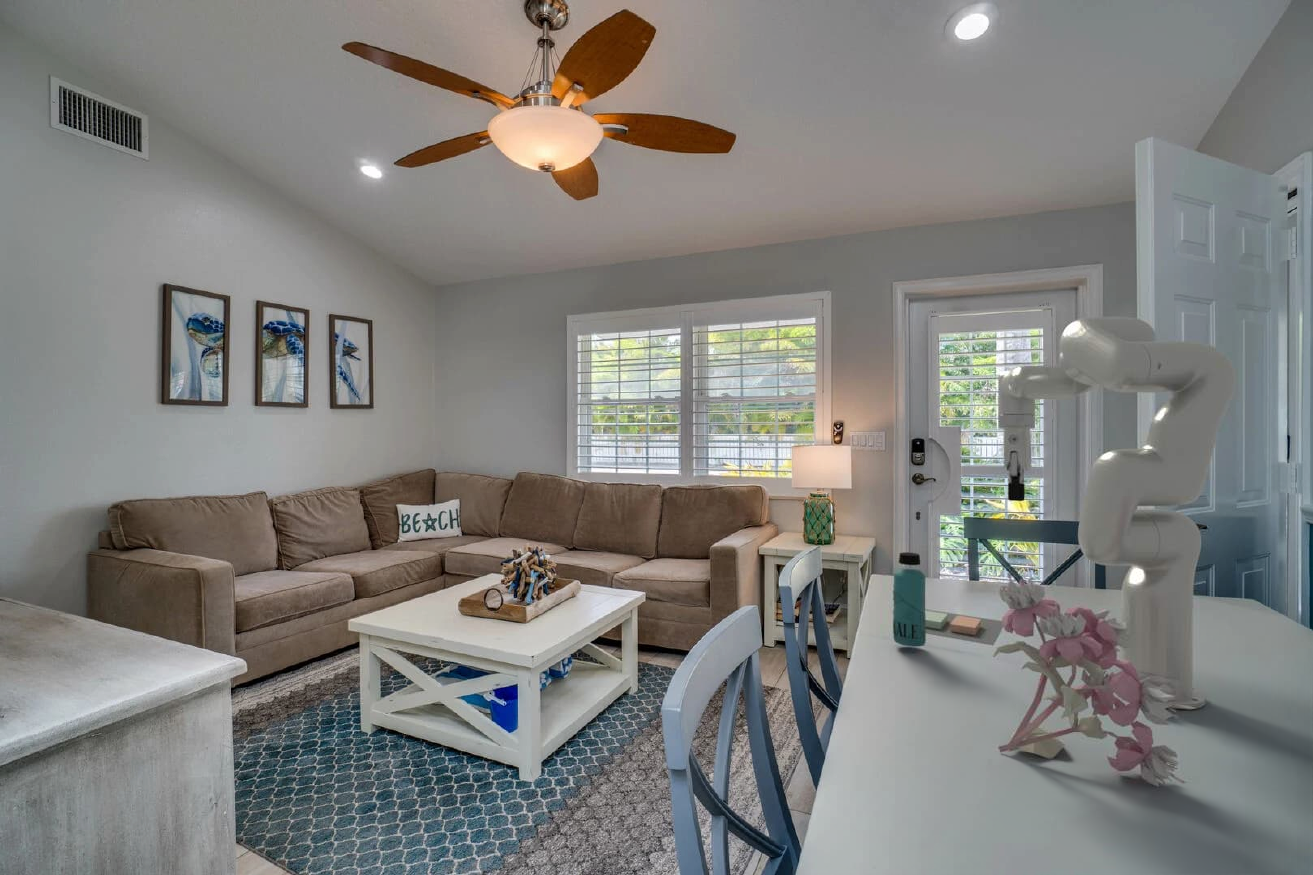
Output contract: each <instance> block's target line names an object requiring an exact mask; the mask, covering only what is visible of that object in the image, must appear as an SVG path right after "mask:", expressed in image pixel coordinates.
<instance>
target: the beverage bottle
mask: <svg viewBox="0 0 1313 875" xmlns="http://www.w3.org/2000/svg"><path fill="white" fill-rule="evenodd" d="M920 556H921V555H920V554H918V553H916V552H908V551H907V552H899V558H898V563H899V564H901V565H905V566H918V565H921V558H920ZM926 578H927V576H926V575H925V573H924V572H923V571H921V570H920V569H918V568H914V567H900V568H897V569H896V571H894V572H893V585H892V586H893V590H892V592H893V594H892V596H893V597H892V600H893V601H892V602H893V604H892V606H893V610H892V614H893V615H892V616H893V619H892V621H893V622H892V625H893V626H892V634H893V636H892V638H893V640H894V642H895V643H896V644H899V645H902V646H905V647H911V648H912V647H913V648H914V647H915V648H916V647H917V648H918V647H923V646H926V642H927V641H926V640H927V639H926V638H927V637H926V635H927V634H926V630H925V609H926Z"/></svg>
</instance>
